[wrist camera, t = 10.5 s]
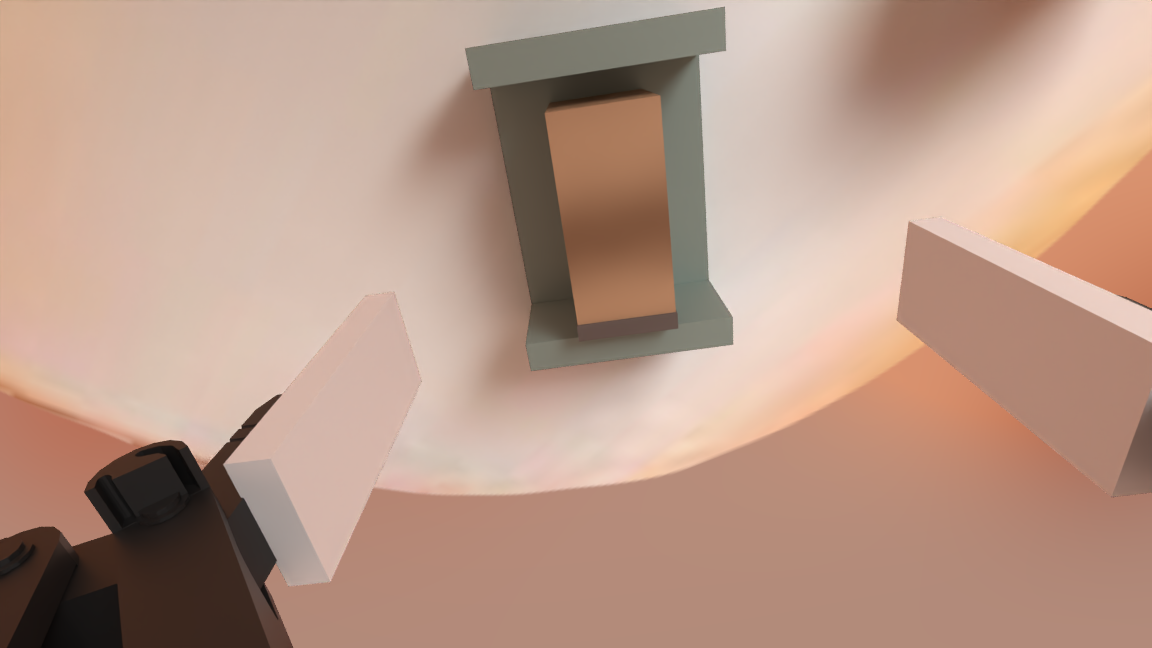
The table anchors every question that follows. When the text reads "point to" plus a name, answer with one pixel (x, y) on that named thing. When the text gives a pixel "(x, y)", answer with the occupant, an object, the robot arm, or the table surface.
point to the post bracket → (520, 97)
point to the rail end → (614, 212)
